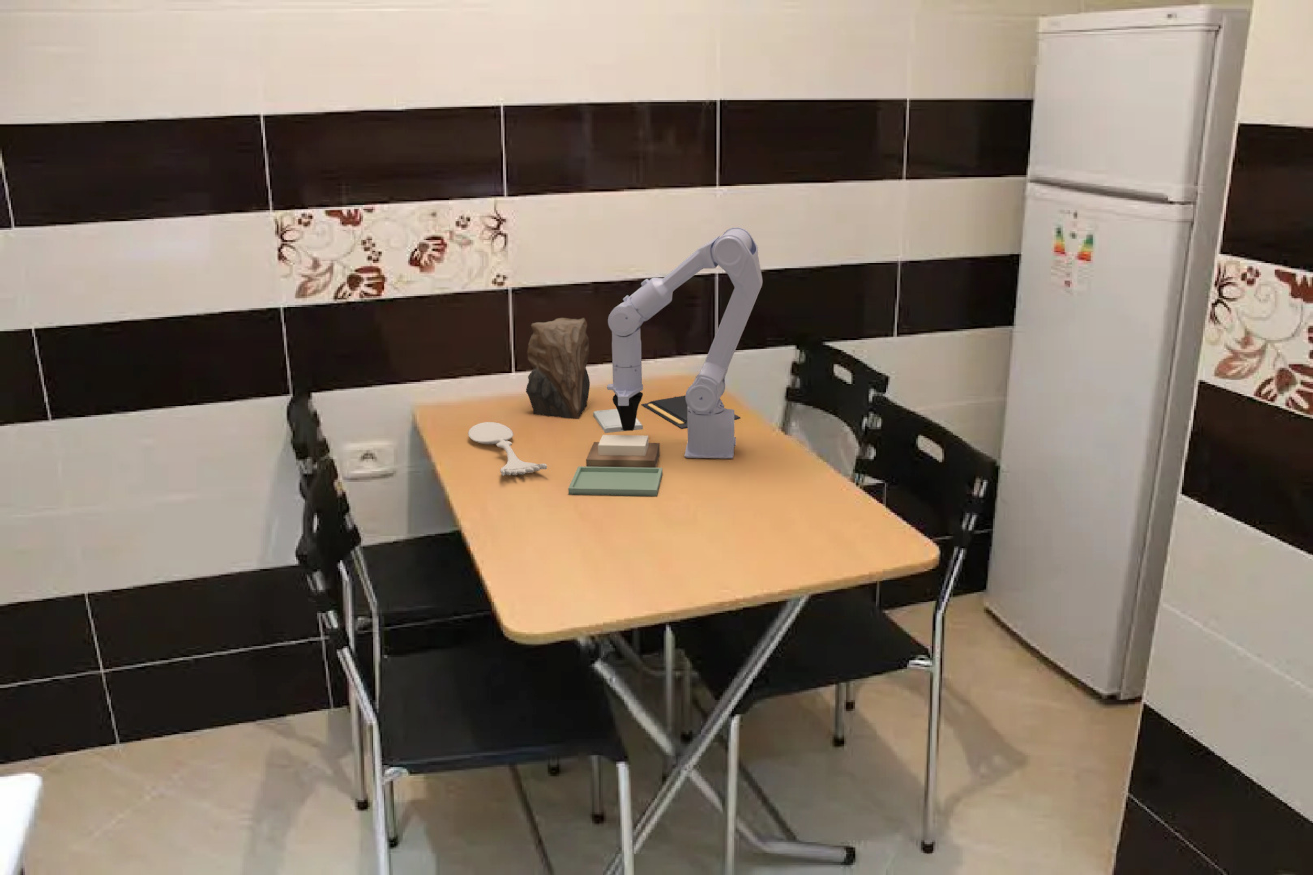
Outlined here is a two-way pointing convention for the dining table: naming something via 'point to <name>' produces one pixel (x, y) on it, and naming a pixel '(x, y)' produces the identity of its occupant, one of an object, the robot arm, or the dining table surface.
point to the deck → (624, 458)
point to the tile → (623, 445)
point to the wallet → (672, 410)
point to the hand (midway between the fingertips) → (628, 429)
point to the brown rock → (559, 368)
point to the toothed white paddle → (502, 446)
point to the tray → (616, 481)
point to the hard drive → (612, 421)
